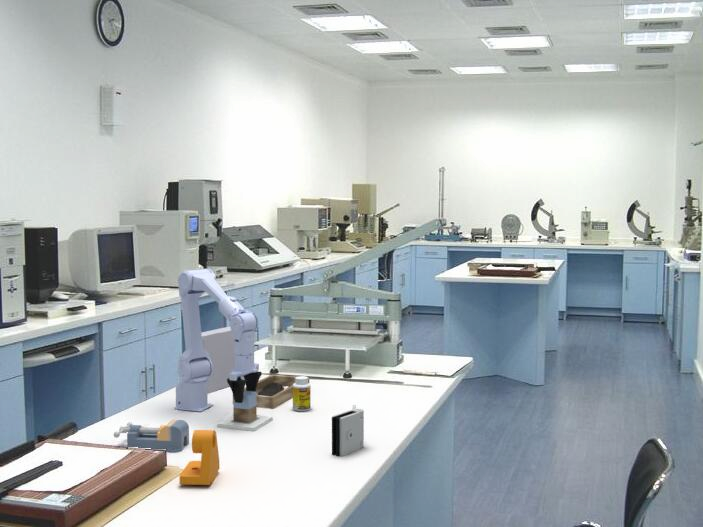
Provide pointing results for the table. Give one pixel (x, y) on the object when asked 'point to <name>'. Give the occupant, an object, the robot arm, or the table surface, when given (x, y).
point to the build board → (249, 426)
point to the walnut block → (244, 414)
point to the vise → (157, 436)
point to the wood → (271, 389)
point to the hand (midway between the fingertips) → (244, 399)
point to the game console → (219, 356)
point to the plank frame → (279, 397)
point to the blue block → (247, 400)
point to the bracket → (202, 459)
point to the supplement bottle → (301, 394)
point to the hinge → (347, 431)
